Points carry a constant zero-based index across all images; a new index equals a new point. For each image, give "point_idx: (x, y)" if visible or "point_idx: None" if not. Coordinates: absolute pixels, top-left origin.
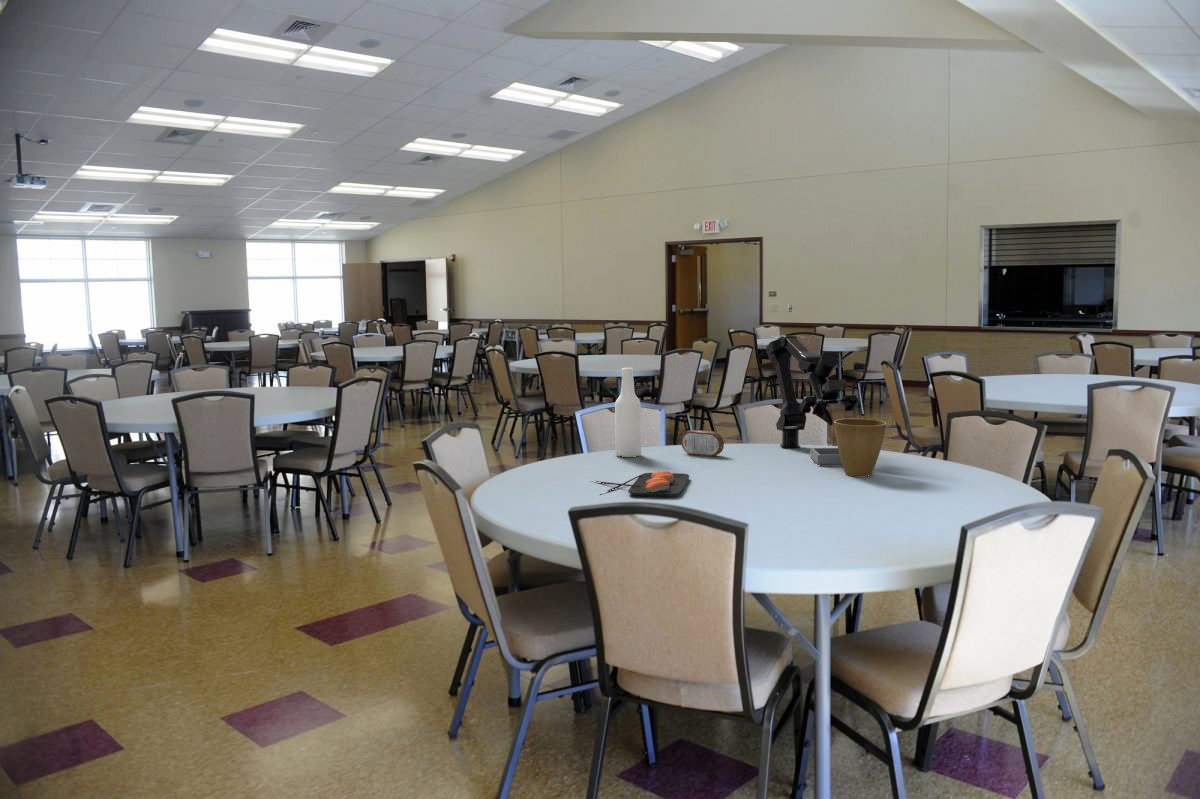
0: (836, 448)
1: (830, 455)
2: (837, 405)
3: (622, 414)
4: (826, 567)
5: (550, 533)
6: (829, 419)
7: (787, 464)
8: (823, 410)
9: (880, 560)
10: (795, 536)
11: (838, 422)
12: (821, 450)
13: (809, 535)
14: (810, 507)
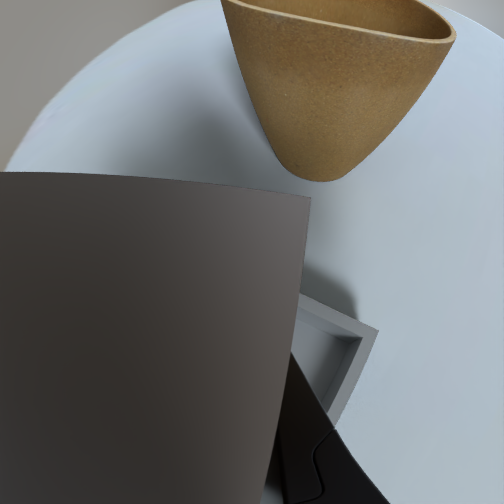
0: None
1: (321, 303)
2: (159, 194)
3: None
4: (478, 24)
5: None
6: (299, 372)
7: (439, 415)
8: (378, 490)
9: (448, 11)
10: (495, 49)
11: (420, 50)
12: None
13: (485, 44)
14: (482, 72)
